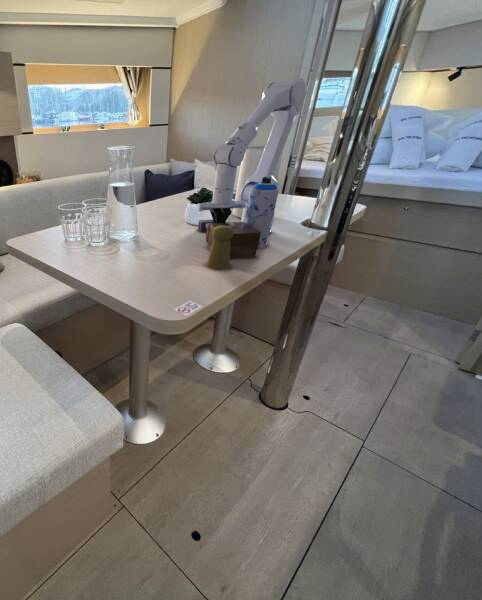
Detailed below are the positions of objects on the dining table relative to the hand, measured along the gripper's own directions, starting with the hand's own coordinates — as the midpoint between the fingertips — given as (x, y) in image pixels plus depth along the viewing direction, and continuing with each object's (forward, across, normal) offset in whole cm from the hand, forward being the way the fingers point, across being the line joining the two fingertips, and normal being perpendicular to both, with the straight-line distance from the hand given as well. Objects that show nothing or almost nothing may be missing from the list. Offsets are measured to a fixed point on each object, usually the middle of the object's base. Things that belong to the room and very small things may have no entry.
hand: (217, 231), depth 103 cm
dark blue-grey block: (+3, +2, +12) cm, 12 cm away
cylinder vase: (+3, +25, +26) cm, 36 cm away
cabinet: (+3, 0, -10) cm, 11 cm away
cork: (+3, -8, -20) cm, 21 cm away
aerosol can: (+3, +10, -5) cm, 12 cm away
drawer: (+2, 0, -4) cm, 5 cm away
